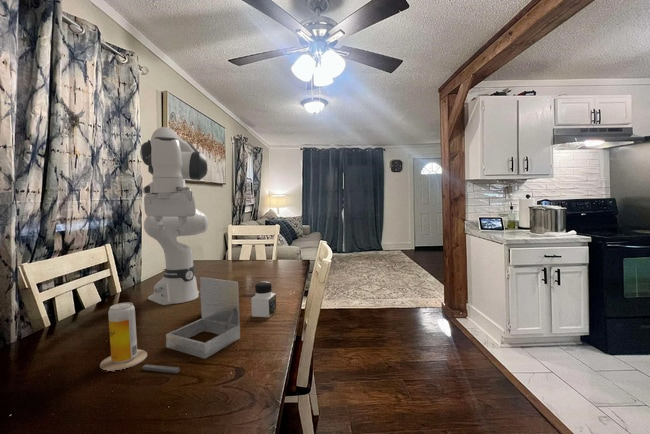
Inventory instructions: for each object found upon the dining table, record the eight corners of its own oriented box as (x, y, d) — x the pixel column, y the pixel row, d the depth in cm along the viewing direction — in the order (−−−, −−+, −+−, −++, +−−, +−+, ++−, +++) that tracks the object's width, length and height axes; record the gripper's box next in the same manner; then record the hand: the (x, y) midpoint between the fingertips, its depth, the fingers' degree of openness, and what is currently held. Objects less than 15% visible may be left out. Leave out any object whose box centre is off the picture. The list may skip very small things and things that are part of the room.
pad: (90, 365, 84) (90, 364, 84) (131, 347, 94) (131, 346, 94) (115, 375, 79) (115, 373, 79) (155, 355, 89) (155, 354, 89)
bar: (142, 371, 81) (142, 366, 81) (146, 368, 83) (145, 364, 82) (176, 374, 79) (176, 370, 79) (179, 372, 81) (179, 367, 80)
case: (166, 347, 93) (163, 288, 92) (203, 329, 106) (201, 277, 105) (205, 358, 86) (202, 294, 85) (240, 338, 99) (238, 281, 98)
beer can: (119, 354, 89) (115, 302, 88) (141, 352, 90) (138, 301, 89) (106, 365, 83) (102, 310, 82) (130, 363, 84) (127, 308, 83)
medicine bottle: (269, 317, 115) (268, 285, 114) (251, 316, 116) (250, 285, 116) (276, 310, 122) (275, 280, 121) (259, 310, 123) (258, 280, 123)
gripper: (199, 186, 98) (201, 230, 99) (157, 188, 108) (159, 228, 109) (182, 186, 93) (184, 232, 94) (139, 188, 102) (141, 230, 103)
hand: (170, 230), depth 101 cm, fingers open, 8 cm apart
